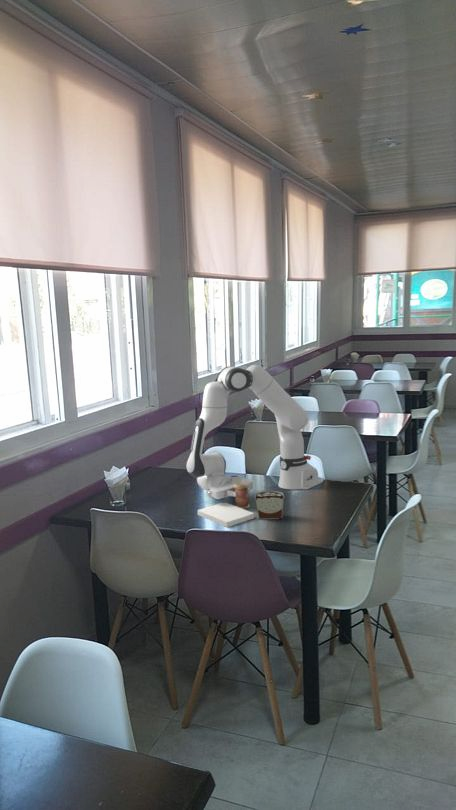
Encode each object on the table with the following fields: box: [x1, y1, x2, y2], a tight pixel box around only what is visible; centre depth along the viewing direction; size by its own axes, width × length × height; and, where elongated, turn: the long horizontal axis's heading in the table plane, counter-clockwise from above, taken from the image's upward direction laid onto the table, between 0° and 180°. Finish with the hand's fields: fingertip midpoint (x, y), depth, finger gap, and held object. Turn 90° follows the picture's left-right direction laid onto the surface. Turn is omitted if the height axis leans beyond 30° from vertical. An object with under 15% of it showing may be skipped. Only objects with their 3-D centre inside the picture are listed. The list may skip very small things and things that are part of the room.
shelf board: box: [197, 501, 255, 528], centre depth 232 cm, size 14×20×2 cm
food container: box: [253, 490, 286, 520], centre depth 229 cm, size 12×6×10 cm, turn 84°
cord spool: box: [234, 482, 251, 510], centre depth 242 cm, size 6×6×10 cm
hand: (242, 492), depth 241 cm, fingers closed on cord spool, 5 cm apart
